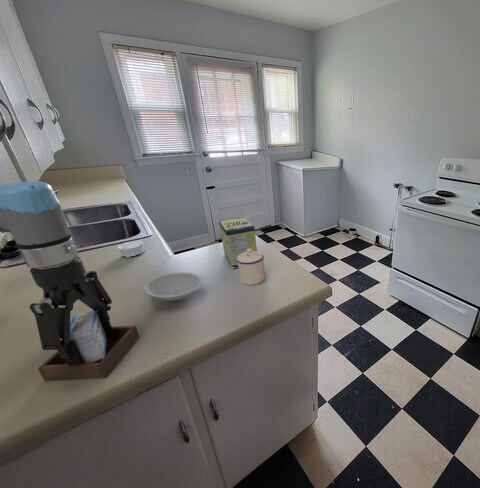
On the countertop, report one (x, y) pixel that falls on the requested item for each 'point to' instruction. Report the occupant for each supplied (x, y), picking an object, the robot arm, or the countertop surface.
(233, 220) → the protein box
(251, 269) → the teacup with lid
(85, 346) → the medicine box
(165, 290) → the dish
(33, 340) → the countertop surface
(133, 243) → the ramekin
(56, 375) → the holder
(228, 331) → the countertop surface
